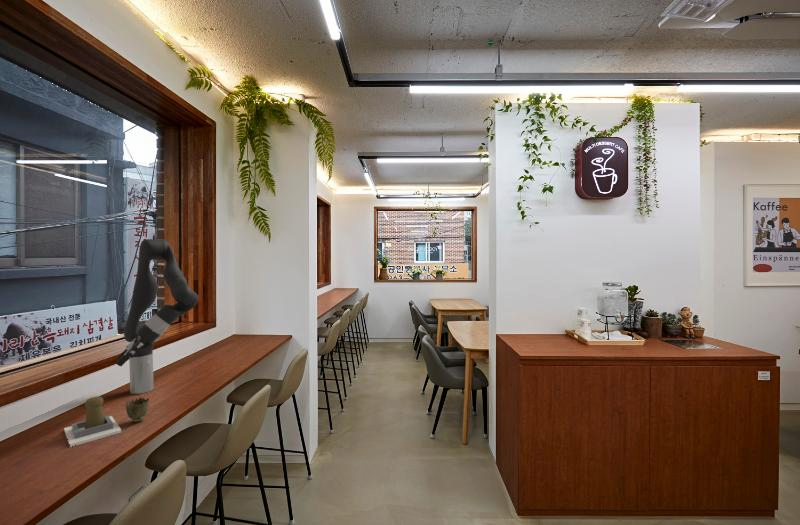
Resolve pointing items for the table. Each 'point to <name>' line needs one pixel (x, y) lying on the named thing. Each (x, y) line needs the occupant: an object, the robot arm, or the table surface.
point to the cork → (94, 412)
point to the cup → (137, 409)
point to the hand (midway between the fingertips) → (118, 362)
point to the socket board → (91, 431)
